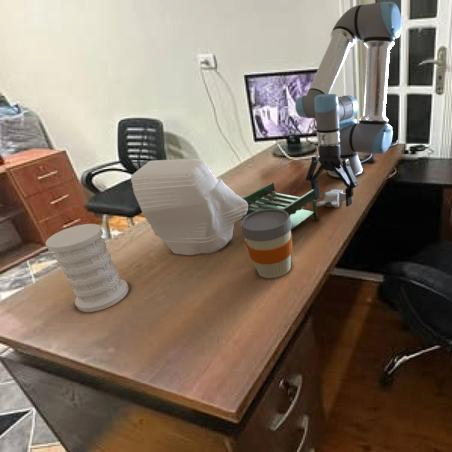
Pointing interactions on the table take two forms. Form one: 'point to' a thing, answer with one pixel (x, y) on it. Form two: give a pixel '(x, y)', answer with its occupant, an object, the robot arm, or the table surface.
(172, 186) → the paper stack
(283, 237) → the reusable coffee cup
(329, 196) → the bunny figurine
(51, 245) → the decorative container
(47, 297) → the table surface
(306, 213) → the rack
